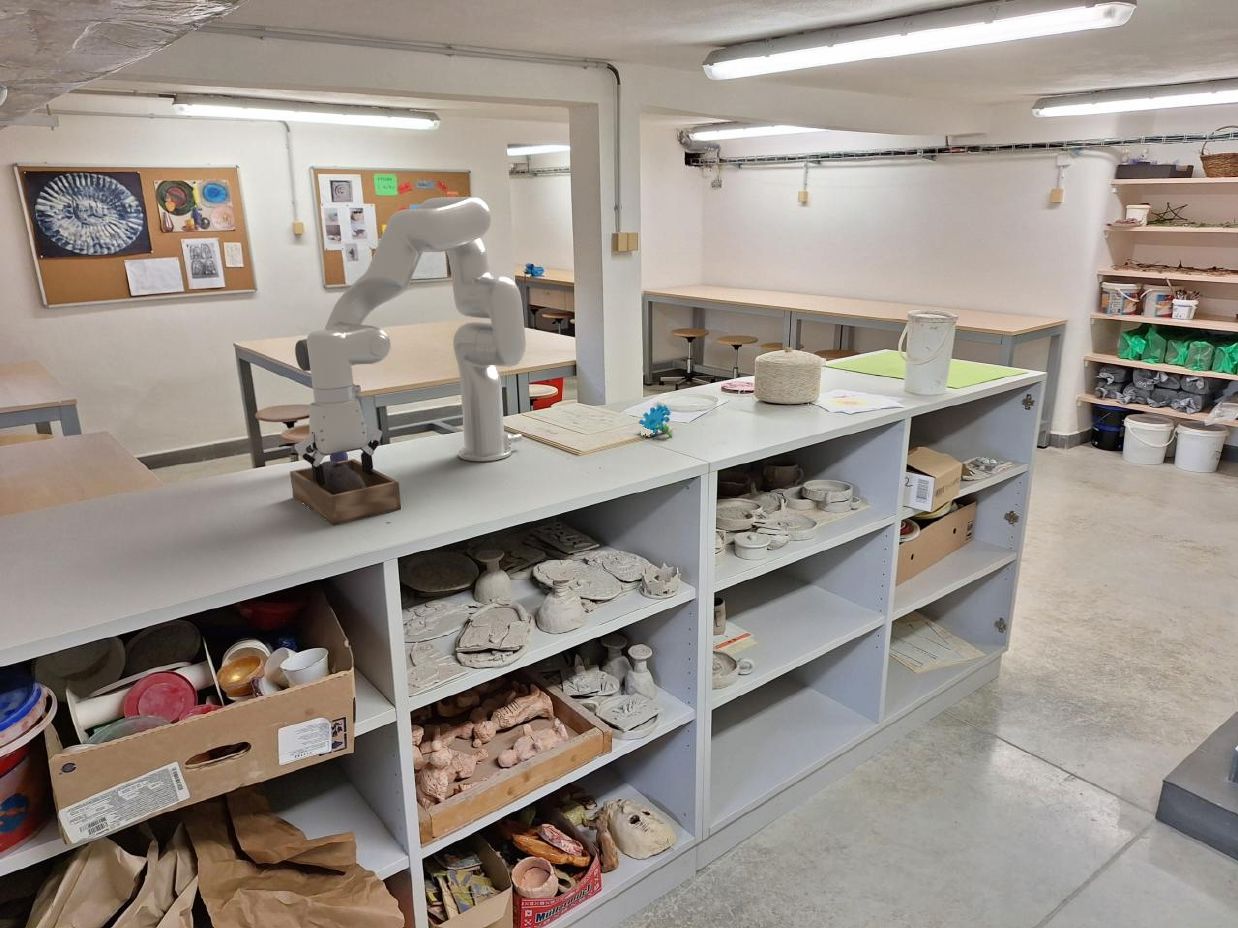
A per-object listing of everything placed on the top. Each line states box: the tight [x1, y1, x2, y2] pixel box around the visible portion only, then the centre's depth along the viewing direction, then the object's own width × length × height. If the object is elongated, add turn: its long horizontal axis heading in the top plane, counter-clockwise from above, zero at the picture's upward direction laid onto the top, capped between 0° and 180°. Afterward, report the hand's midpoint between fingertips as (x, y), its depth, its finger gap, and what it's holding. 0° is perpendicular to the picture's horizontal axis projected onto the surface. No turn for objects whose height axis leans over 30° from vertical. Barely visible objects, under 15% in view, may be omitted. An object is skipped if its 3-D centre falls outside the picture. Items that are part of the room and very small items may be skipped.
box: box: [289, 458, 402, 526], centre depth 167 cm, size 14×22×6 cm, turn 40°
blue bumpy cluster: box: [638, 404, 673, 438], centre depth 217 cm, size 11×6×10 cm
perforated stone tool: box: [318, 460, 367, 495], centre depth 167 cm, size 15×5×7 cm, turn 46°
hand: (344, 478), depth 167 cm, fingers open, 9 cm apart
